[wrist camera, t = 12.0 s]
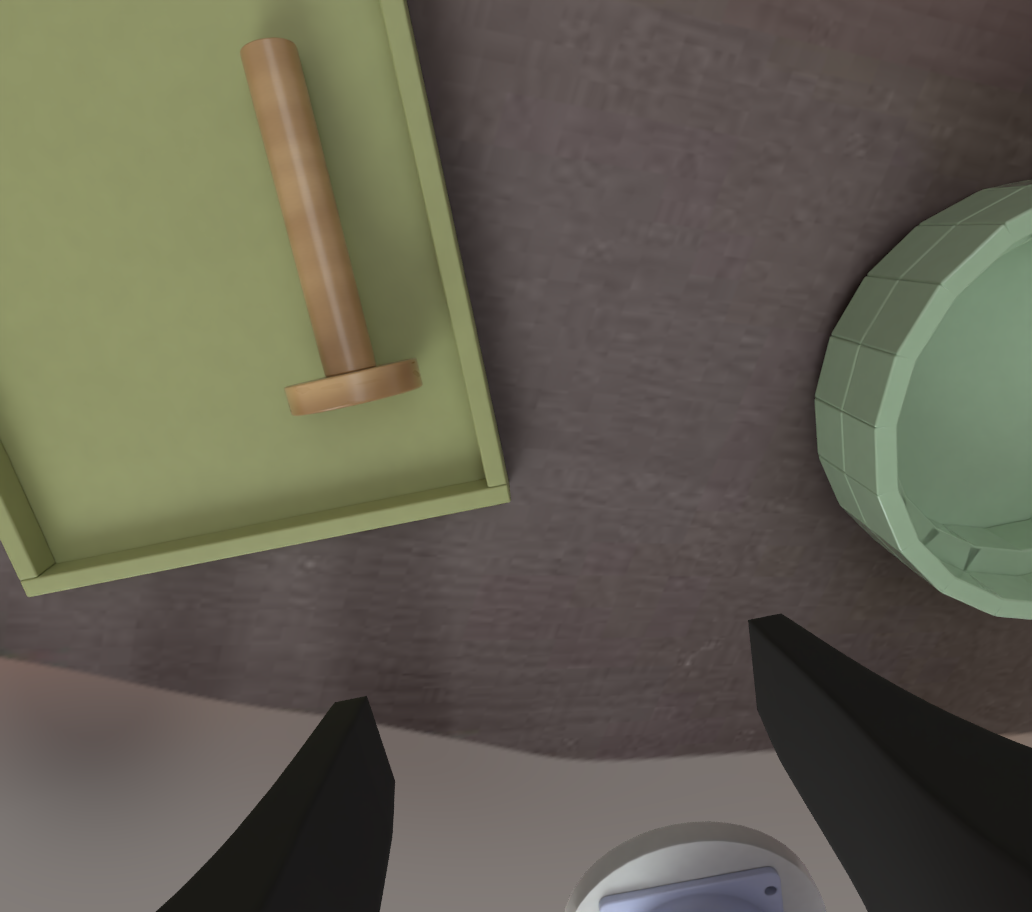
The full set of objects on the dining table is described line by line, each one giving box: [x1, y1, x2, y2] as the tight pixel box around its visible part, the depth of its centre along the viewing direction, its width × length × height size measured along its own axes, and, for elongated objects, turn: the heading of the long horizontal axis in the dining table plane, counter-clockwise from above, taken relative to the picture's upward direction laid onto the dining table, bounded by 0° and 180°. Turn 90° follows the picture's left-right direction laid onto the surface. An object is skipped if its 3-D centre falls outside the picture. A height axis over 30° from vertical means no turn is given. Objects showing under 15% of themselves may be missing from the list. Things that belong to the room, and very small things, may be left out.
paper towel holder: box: [240, 37, 423, 416], centre depth 18 cm, size 4×4×9 cm
